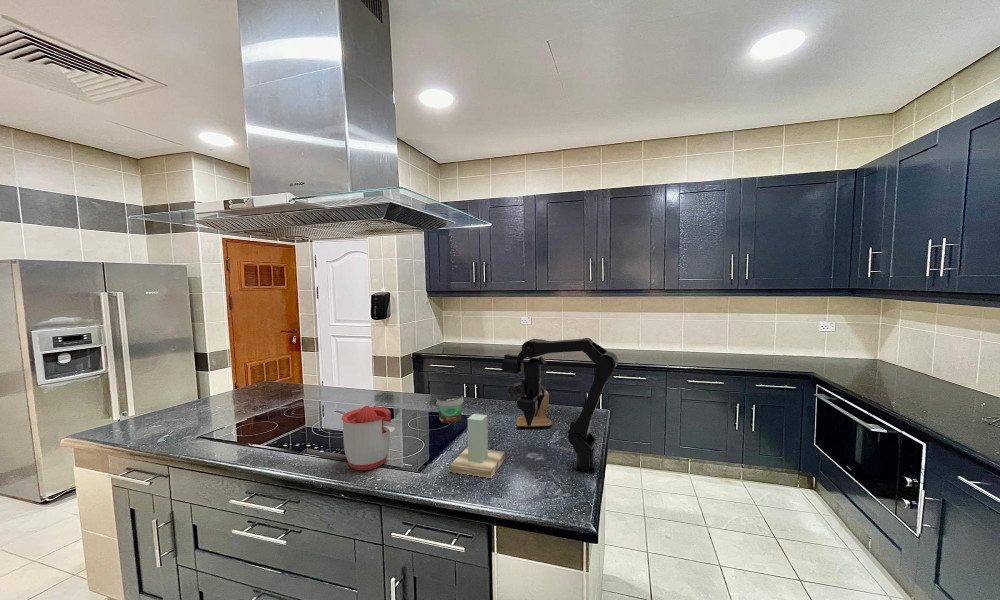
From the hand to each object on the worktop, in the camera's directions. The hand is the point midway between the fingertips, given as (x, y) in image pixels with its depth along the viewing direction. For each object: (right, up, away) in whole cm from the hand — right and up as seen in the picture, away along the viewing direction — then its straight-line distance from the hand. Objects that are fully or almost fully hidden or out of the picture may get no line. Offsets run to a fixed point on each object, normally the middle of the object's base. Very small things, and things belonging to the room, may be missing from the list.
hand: (532, 420), depth 132 cm
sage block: (-18, -11, -5) cm, 22 cm away
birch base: (-18, -14, -5) cm, 23 cm away
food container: (-32, -12, +36) cm, 50 cm away
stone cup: (+3, -12, +31) cm, 34 cm away
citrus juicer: (-55, -14, -2) cm, 57 cm away
